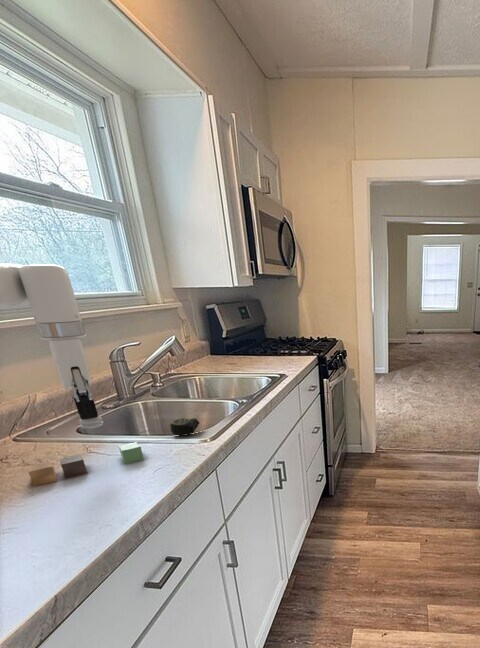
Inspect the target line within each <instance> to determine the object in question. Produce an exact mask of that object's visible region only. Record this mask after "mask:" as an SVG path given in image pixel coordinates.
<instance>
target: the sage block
mask: <svg viewBox="0 0 480 648" xmlns="http://www.w3.org/2000/svg"><path fill="white" fill-rule="evenodd" d="M118 449H119V453H120V456H121V459H122V461H123V463H124V464H125V465H127V464H131V463H132V464H133V463H136V462H139V461H140V462H141V461H144V460H145V458H144V454H143V451H142V447H141V444H140V443H139V442H138V441H135V442H131V443H126V444H122V445H121V444H120V445H118Z"/></svg>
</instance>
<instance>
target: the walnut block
mask: <svg viewBox="0 0 480 648" xmlns="http://www.w3.org/2000/svg"><path fill="white" fill-rule="evenodd" d="M59 463H60V466H61V468H62V472H63V475H64V477H65V479H70V478H75V477H78V476H79V477H80V476H82V475H86V474H88V470H87V467H86V463H85V461H84V458H83V455H82V453H81V454H76V455H71V456H67V457H61V458H59Z"/></svg>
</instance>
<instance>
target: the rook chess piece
mask: <svg viewBox="0 0 480 648" xmlns="http://www.w3.org/2000/svg"><path fill="white" fill-rule="evenodd" d="M90 394H91V397H92V396H93V395H92V393H91V392H90ZM74 398H75V396H74V395H73V399H74ZM78 423H79V424H80V425H79V427H80V428H81V429H84V430H92V429H96V428H99V427H102V426H103V425H104V421H103V417H102V416H101V415H99V414H98V417H96V418H90V419H84V420H82V419H81V418H80V417H79V419H78Z"/></svg>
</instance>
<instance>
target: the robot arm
mask: <svg viewBox="0 0 480 648" xmlns="http://www.w3.org/2000/svg"><path fill="white" fill-rule="evenodd" d="M28 304H29V306H30V309H31V313H32V316H33V319H34V322H35V325H36V328H37V331H38V334H39V336H40V340H42V341H48V344H49V348H50V352H51V355H52V359H53V362H54V365H55V368H56V372H57V374H58V377H59V380H60V382H61V385H62V388H63V389H65V390H68V389H69V388H71V391H72V393H73V401H74V404H75V407H76V410H77V413H78V415H79V419H80V418H81V419H82V420H84V419H90V418H96V417H98V415H99V413H98V409H97V407H96V404H95V400H94V399H93V397H92V396H91V394H92V393H91V391H90V388H89V387H90V386H92V380H91V379H92V378H91V375H90V374H91V373H90V370H89V365H88V362H87V361H88V360H87V357H86V354H85V351H84V346H83V344H82V341H81V339H83V338H87V333H86V330H85V327H84V323H83V320H82V317H81V313H80V309H79V307H78V302H77V299H76V296H75V291H74V288H73V285H72V281H71V279H70V275H69V273H68V271H67V270H66V269H65V268H64V267H63V266H61V265H59V264H58V265H57V264H24V265H21V264H14V263H0V307H7V306H20V305H21V306H22V305H28ZM90 393H91V394H90ZM74 396H75V398H74Z"/></svg>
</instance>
